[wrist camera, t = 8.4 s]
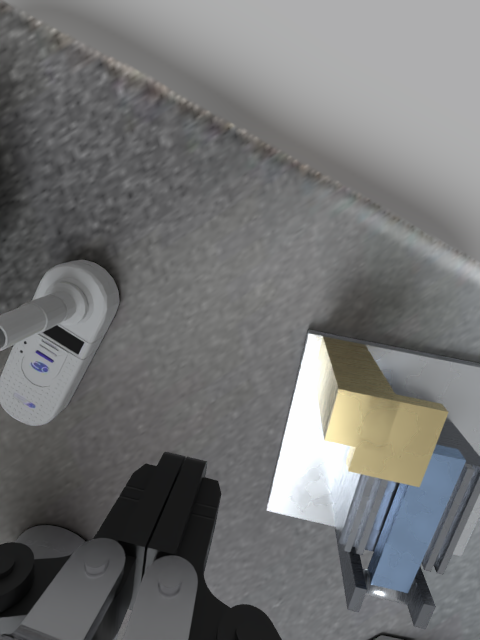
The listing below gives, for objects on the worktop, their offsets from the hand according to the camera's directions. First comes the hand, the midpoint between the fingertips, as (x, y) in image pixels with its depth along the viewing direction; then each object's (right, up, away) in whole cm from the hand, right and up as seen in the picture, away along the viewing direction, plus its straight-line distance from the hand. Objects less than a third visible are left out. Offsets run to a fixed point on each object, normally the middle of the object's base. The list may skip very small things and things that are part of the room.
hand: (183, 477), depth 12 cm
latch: (+10, +2, +14) cm, 17 cm away
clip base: (+14, -4, +16) cm, 21 cm away
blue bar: (+13, -7, +11) cm, 18 cm away
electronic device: (-12, +4, +17) cm, 22 cm away
